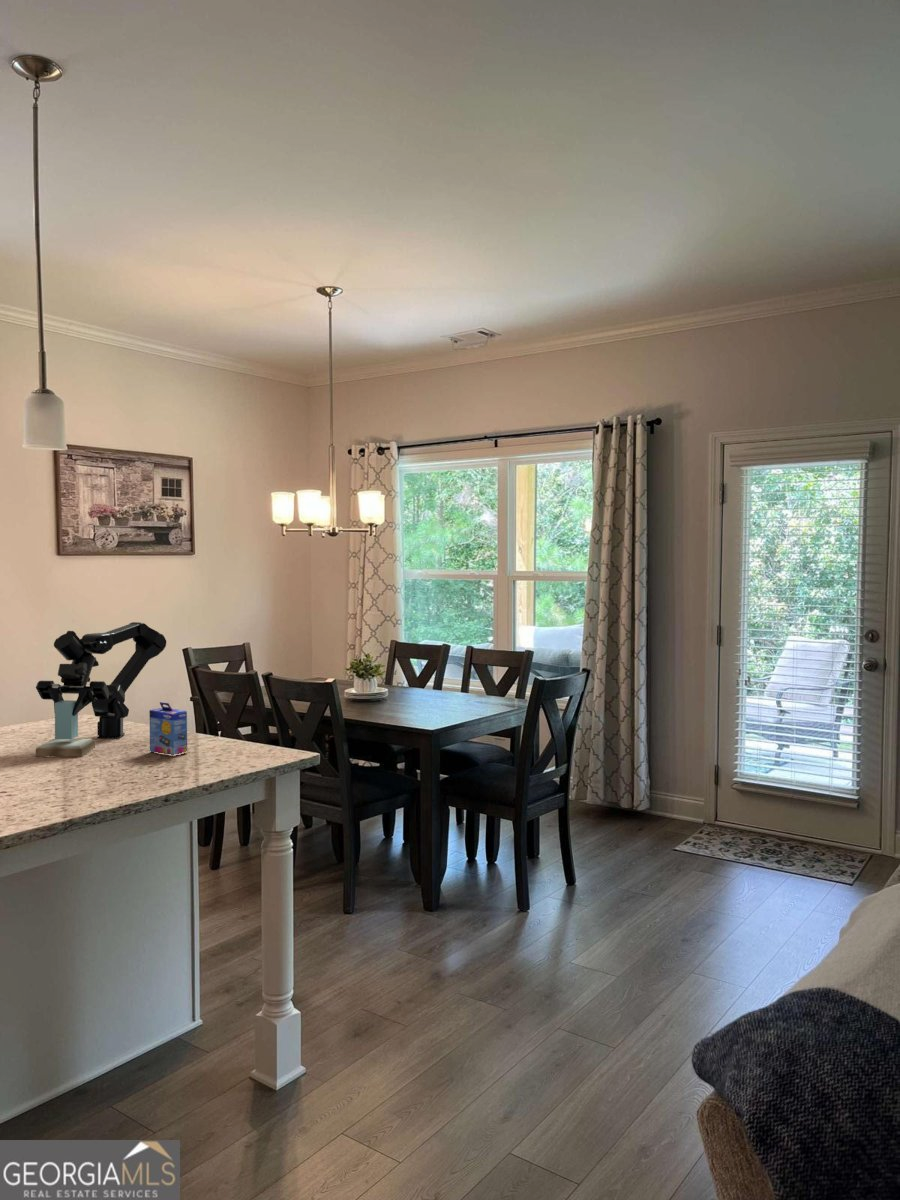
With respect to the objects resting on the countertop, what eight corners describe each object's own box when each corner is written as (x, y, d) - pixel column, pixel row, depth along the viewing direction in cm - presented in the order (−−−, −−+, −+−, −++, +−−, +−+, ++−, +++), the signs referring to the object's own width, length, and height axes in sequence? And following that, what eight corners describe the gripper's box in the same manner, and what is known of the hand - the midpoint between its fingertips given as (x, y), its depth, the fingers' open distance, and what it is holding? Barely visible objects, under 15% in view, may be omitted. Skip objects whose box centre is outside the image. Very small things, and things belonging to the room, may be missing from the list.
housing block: (61, 735, 244) (61, 700, 243) (77, 736, 244) (77, 700, 243) (54, 739, 239) (54, 702, 239) (71, 739, 239) (71, 703, 239)
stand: (95, 747, 248) (95, 738, 248) (81, 756, 236) (81, 746, 236) (51, 747, 247) (51, 738, 247) (35, 756, 235) (35, 746, 235)
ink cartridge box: (147, 753, 242) (148, 701, 242) (163, 749, 247) (164, 699, 247) (172, 757, 237) (172, 704, 237) (188, 754, 242) (188, 702, 242)
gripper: (38, 652, 244) (20, 697, 233) (105, 652, 245) (90, 697, 234) (50, 676, 252) (33, 720, 242) (115, 677, 253) (101, 721, 242)
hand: (64, 714), depth 240 cm, fingers closed on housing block, 4 cm apart
